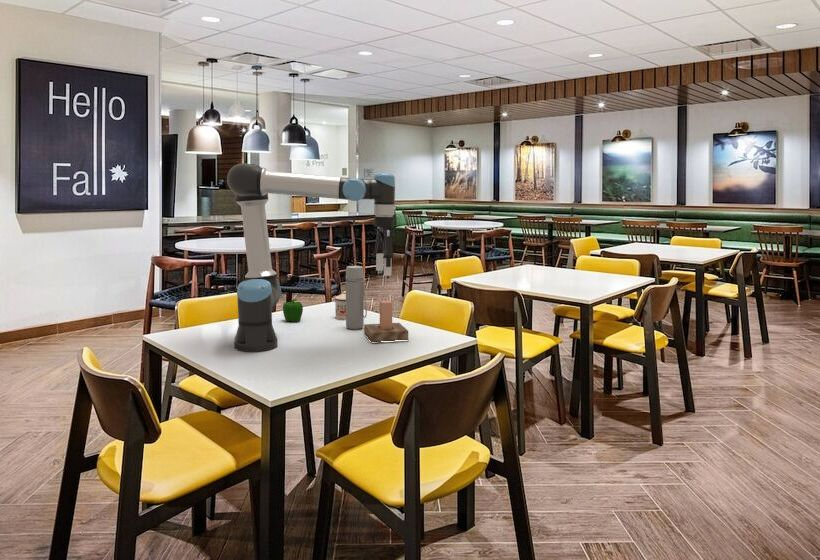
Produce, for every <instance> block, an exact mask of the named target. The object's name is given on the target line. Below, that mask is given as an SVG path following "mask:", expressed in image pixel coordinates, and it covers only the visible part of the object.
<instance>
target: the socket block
mask: <svg viewBox="0 0 820 560" xmlns="http://www.w3.org/2000/svg"><path fill="white" fill-rule="evenodd" d="M363 328H364V329H363V331H364V332H363V334H365V335H366V336H367V337H368V339H369V340H370V341H371V342H381V341H395V340H408V341H409V329H407V328H406V327H405V326H404V325H402V324H401V322H392V329H384V330H380V323H369V324H367V323H364V326H363ZM365 335H364V336H365ZM366 336H365V337H366ZM367 337H366V338H367ZM368 339H367V340H368ZM369 340H368V341H369ZM370 341H369V342H370ZM371 342H370V343H371Z"/></svg>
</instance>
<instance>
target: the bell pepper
mask: <svg viewBox="0 0 820 560" xmlns="http://www.w3.org/2000/svg"><path fill="white" fill-rule="evenodd" d="M303 311H304V305H303V304H302V303H301V301H297V298H292V300H291V301H289V302H288V301H287V302H286V301H285V302H284V303H283V304H282V313H283V317H284V319H285V321H286V322H289V321H291V322H293V323H294V322H300V320H301V319H302V317H303V316H302V315H303Z"/></svg>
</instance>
